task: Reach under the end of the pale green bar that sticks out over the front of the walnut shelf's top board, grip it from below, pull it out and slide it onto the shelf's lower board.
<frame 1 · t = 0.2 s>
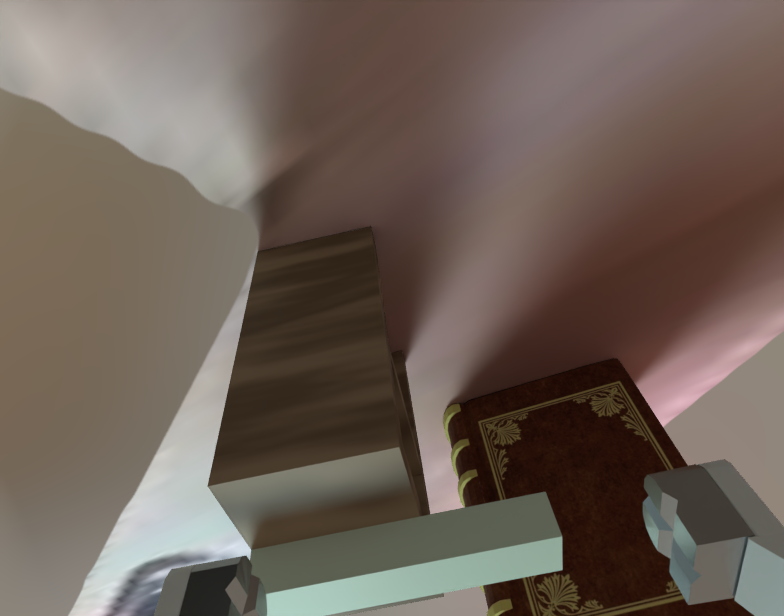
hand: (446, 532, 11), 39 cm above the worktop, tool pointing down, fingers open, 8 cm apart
walnut shelf: (338, 312, 56), on the worktop
decorative book: (529, 402, 67), on the worktop
pale green bar: (402, 537, 35), point 26 cm above the worktop, touching walnut shelf
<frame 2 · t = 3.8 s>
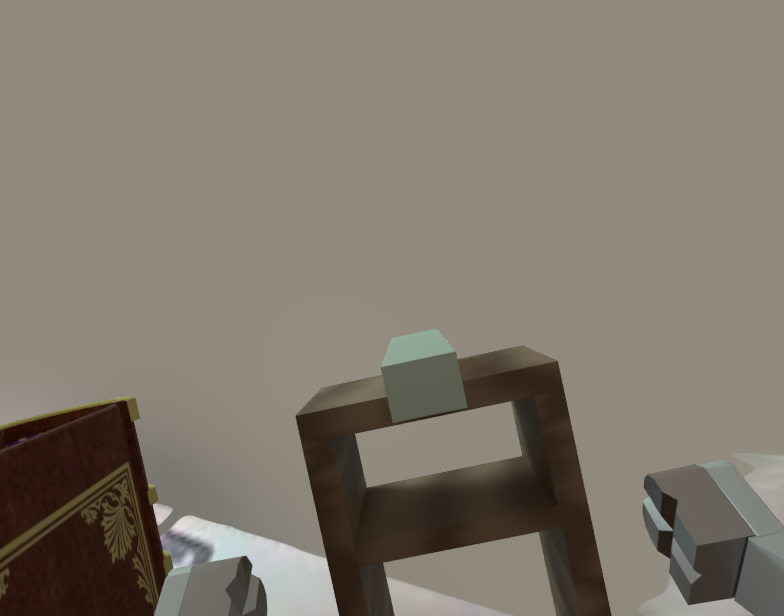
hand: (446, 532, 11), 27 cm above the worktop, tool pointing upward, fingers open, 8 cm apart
pale green bar: (424, 384, 38), point 26 cm above the worktop, touching walnut shelf
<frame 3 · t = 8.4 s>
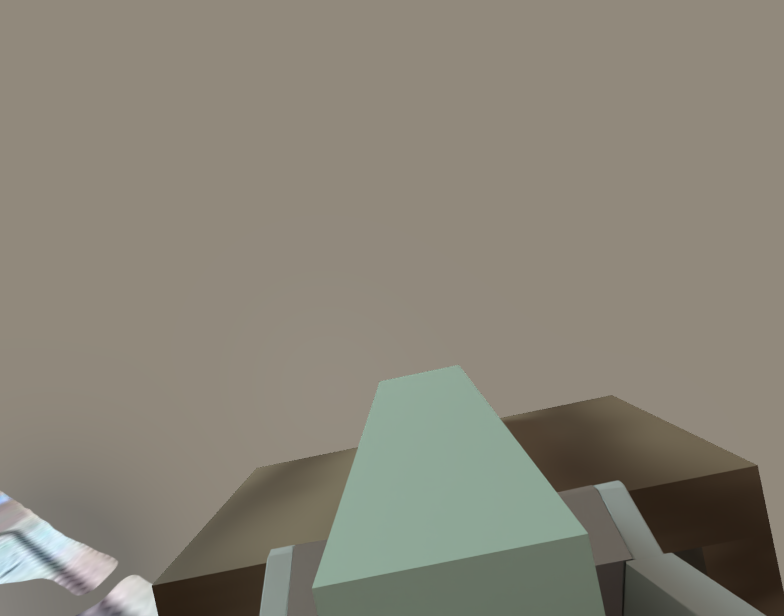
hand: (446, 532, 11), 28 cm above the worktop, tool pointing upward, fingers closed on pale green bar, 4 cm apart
pale green bar: (445, 506, 17), point 26 cm above the worktop, touching gripper, walnut shelf
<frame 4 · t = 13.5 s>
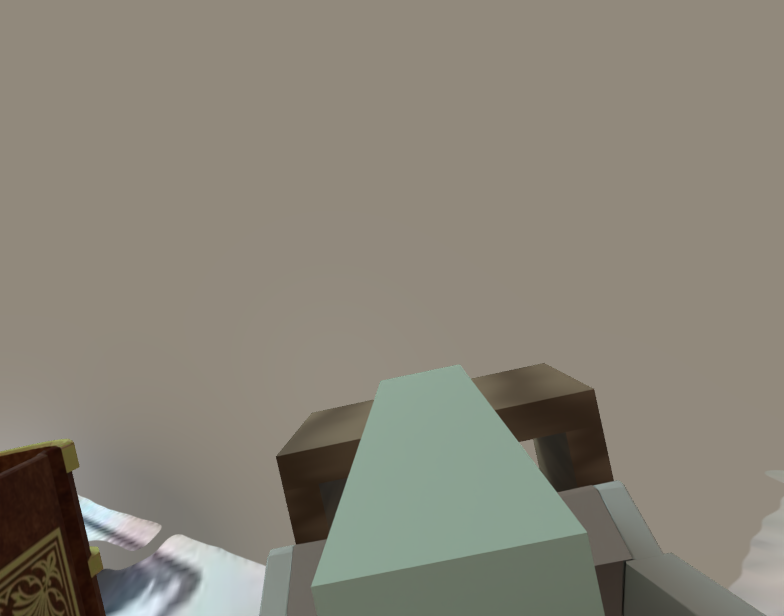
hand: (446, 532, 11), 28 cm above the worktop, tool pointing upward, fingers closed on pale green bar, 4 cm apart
pale green bar: (445, 505, 17), point 26 cm above the worktop, touching gripper
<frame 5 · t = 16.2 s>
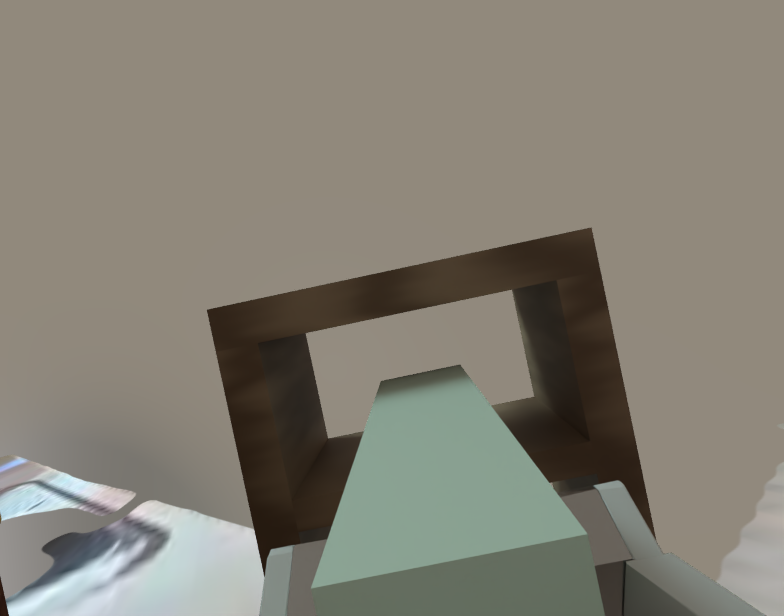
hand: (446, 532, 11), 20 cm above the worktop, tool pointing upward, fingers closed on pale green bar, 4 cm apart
pale green bar: (446, 506, 17), point 18 cm above the worktop, touching gripper
when the fingers open (20 cm above the worktop, at t = 18.7 s): pale green bar drops 1 cm, resting on walnut shelf.
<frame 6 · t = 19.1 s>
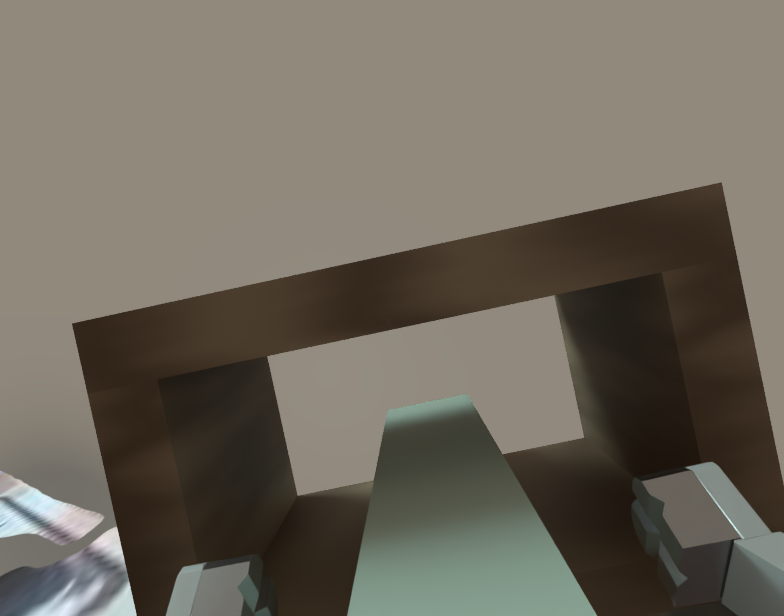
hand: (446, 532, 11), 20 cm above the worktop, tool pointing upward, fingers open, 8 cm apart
pale green bar: (456, 552, 17), point 16 cm above the worktop, touching walnut shelf
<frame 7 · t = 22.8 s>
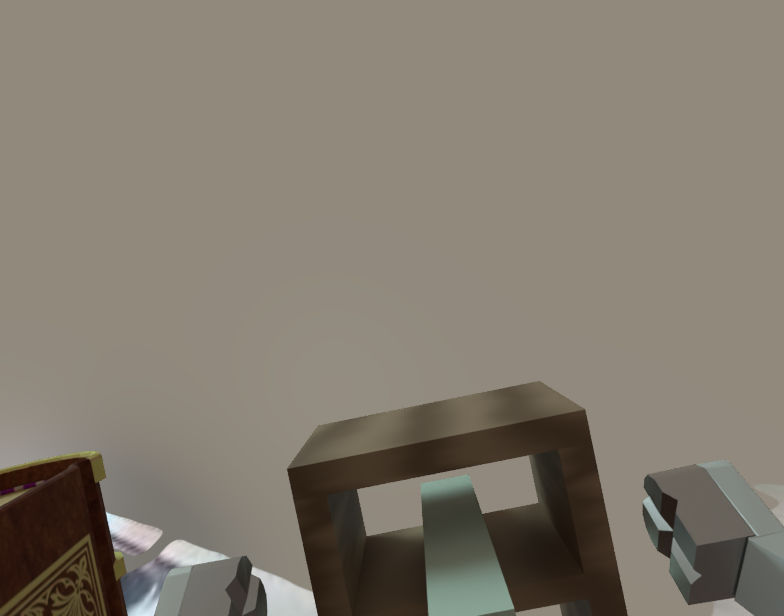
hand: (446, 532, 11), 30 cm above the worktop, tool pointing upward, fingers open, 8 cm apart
pale green bar: (463, 574, 34), point 16 cm above the worktop, touching walnut shelf
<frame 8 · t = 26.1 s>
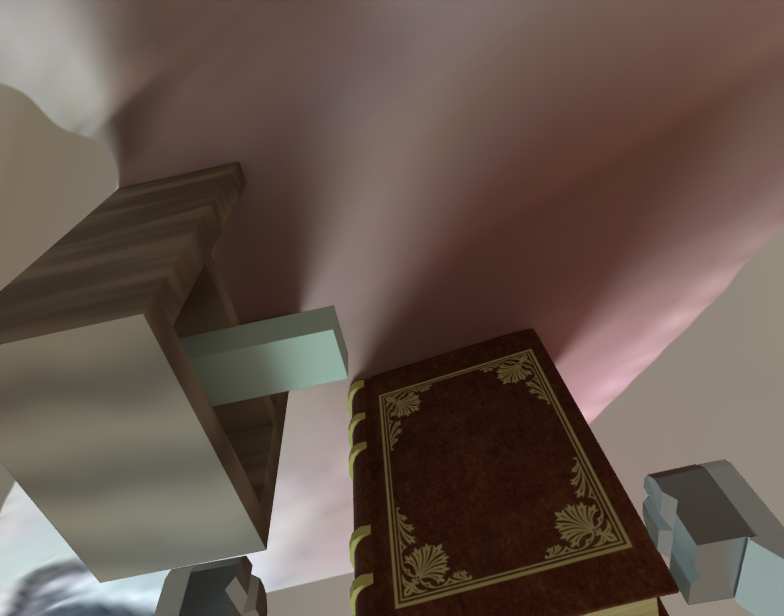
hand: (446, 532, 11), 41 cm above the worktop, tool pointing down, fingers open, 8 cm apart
walnut shelf: (215, 264, 52), on the worktop
decorative book: (443, 380, 62), on the worktop
pale green bar: (209, 357, 38), point 16 cm above the worktop, touching walnut shelf
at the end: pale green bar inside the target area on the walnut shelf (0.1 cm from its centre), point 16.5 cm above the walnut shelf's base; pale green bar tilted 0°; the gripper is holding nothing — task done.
